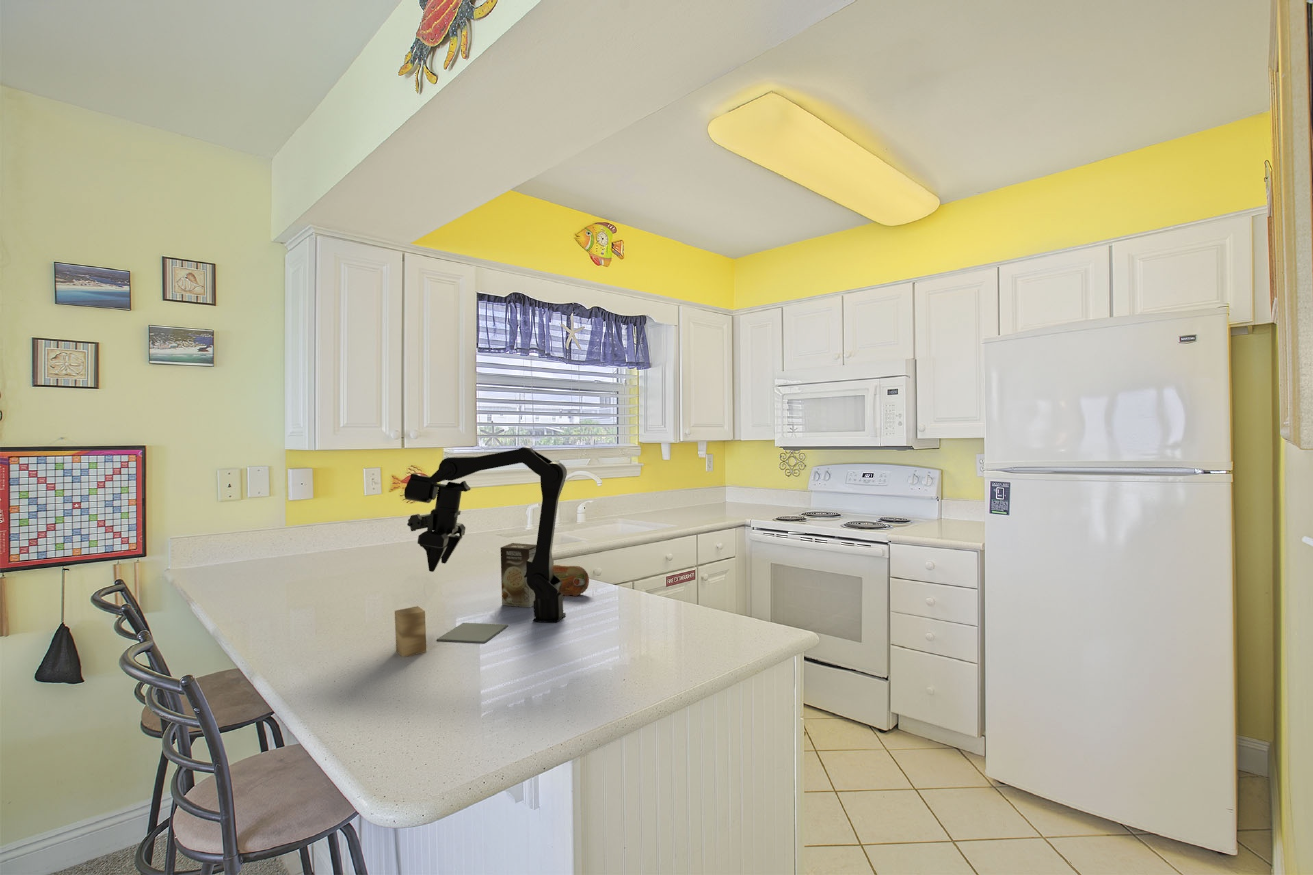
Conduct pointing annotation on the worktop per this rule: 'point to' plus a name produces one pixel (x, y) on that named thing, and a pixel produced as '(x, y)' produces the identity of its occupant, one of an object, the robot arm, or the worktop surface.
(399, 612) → the oak block
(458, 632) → the slate mat
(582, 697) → the worktop surface
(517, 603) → the coffee box
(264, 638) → the worktop surface
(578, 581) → the tin
